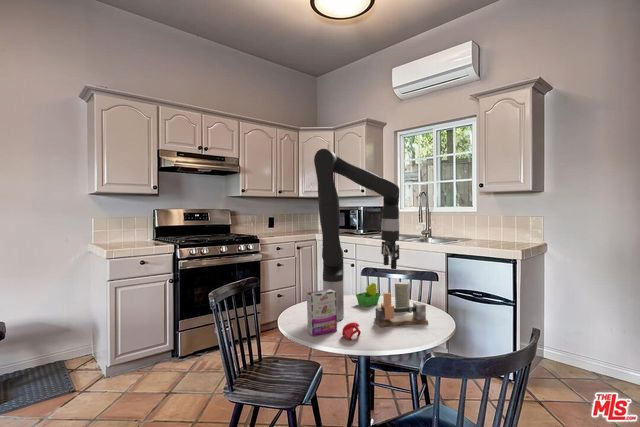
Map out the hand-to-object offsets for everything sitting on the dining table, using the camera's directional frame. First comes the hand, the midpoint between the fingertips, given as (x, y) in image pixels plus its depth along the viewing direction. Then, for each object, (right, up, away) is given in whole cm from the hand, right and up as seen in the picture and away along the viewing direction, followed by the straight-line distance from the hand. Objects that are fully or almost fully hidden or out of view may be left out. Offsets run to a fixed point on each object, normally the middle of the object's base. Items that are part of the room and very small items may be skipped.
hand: (389, 267), depth 151 cm
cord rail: (+5, -24, 0) cm, 24 cm away
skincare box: (+10, -23, +22) cm, 33 cm away
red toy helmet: (-18, -25, -16) cm, 35 cm away
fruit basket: (-5, -23, +28) cm, 37 cm away
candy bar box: (-29, -25, -9) cm, 39 cm away
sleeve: (-1, -21, -1) cm, 21 cm away
